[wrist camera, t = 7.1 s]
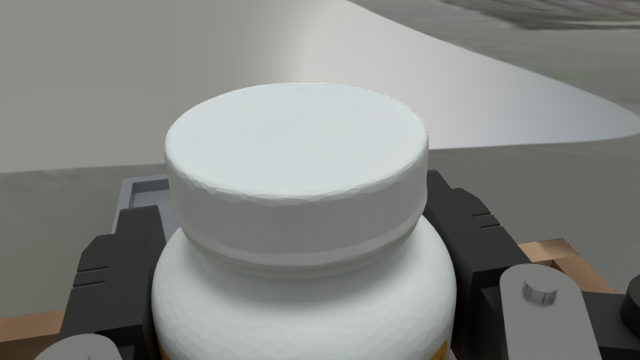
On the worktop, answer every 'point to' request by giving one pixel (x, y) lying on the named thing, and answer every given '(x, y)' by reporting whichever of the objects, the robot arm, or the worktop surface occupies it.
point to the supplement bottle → (301, 231)
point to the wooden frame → (43, 328)
